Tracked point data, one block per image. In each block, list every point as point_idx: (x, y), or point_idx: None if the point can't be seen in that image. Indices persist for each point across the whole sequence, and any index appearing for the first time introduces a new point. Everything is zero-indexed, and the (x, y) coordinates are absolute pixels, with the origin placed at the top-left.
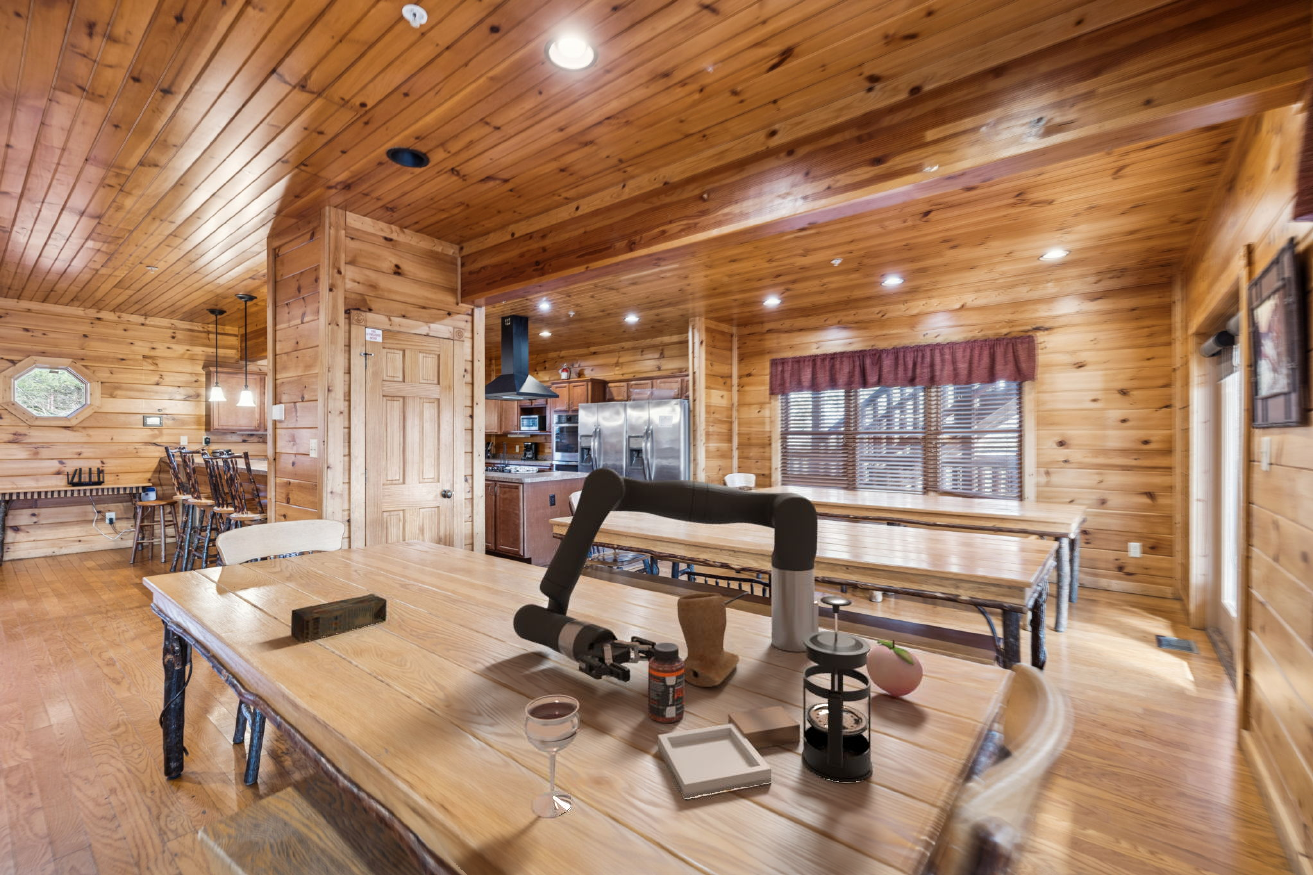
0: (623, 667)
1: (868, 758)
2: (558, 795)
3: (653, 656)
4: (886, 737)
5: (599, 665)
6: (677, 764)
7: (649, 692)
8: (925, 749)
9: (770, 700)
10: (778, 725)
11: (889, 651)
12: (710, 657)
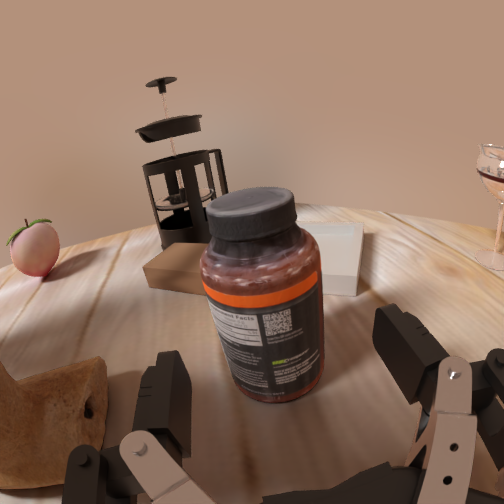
0: (399, 316)
1: (190, 215)
2: (490, 256)
3: (179, 408)
4: (125, 248)
5: (495, 349)
6: (357, 237)
7: (323, 323)
8: (129, 237)
9: (96, 320)
10: (193, 245)
11: (36, 224)
12: (25, 387)
